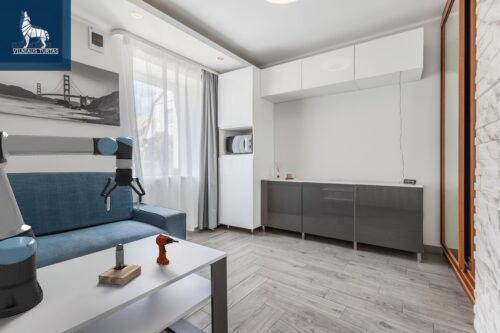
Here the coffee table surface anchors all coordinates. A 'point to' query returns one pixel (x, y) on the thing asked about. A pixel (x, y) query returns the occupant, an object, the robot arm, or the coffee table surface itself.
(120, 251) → the metal round-headed rod
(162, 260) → the toy drill
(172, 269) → the coffee table surface
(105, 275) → the block
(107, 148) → the robot arm
